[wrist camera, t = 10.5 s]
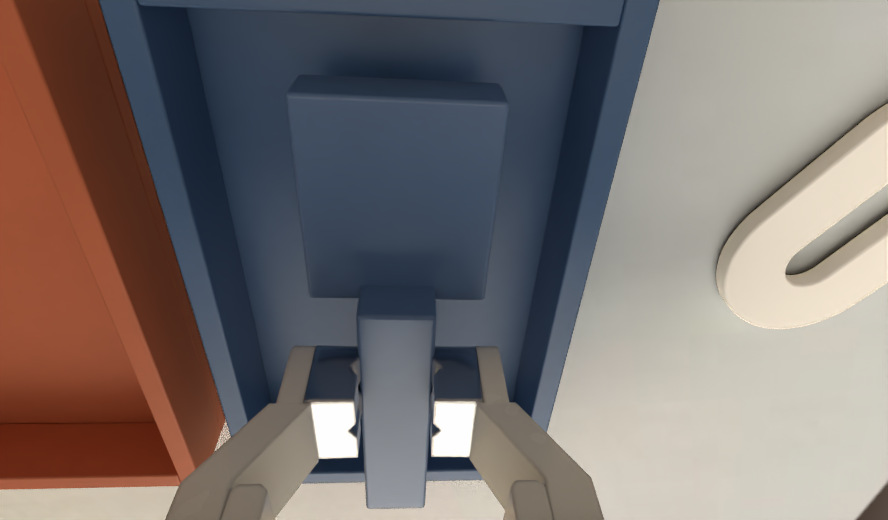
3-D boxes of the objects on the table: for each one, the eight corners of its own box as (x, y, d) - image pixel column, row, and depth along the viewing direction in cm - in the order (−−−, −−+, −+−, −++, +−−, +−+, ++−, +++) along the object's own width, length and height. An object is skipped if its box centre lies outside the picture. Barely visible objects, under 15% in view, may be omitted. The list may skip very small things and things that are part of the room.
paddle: (335, 440, 16) (325, 511, 14) (297, 73, 9) (269, 113, 8) (458, 440, 16) (464, 508, 14) (501, 82, 10) (520, 122, 8)
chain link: (987, 40, 11) (1065, 164, 13) (963, 35, 12) (1042, 155, 13) (690, 280, 15) (784, 352, 16) (681, 268, 15) (774, 339, 17)
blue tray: (263, 419, 18) (245, 486, 16) (152, -51, 10) (85, -39, 8) (521, 416, 19) (534, 479, 17) (614, -27, 11) (663, -10, 8)
